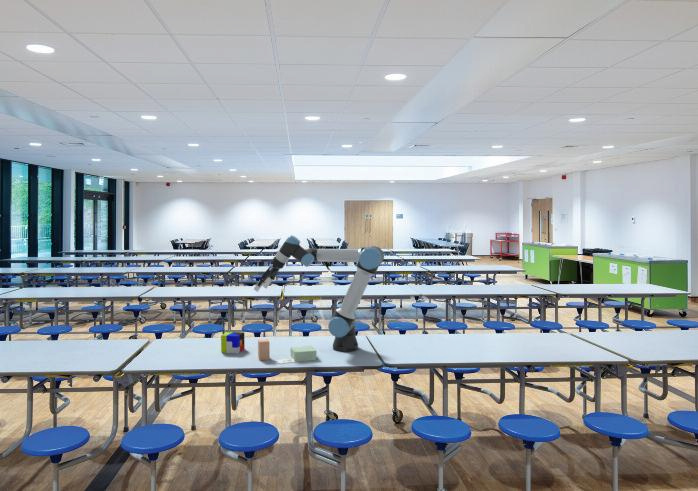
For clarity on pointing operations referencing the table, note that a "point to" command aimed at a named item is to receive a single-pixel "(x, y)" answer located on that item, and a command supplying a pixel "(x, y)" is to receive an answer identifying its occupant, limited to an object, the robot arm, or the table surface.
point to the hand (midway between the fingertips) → (260, 288)
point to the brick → (263, 349)
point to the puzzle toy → (232, 342)
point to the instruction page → (286, 361)
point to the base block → (303, 353)
